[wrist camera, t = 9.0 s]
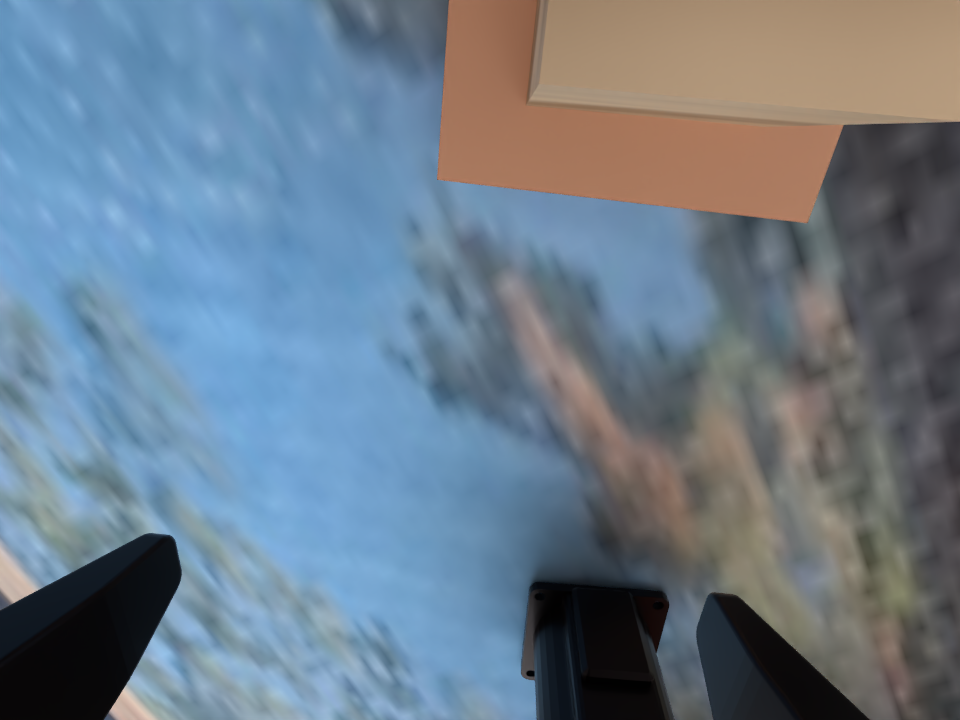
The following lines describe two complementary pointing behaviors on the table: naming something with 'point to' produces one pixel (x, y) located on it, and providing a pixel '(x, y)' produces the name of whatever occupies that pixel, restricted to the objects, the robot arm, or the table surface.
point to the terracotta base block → (607, 136)
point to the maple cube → (750, 60)
